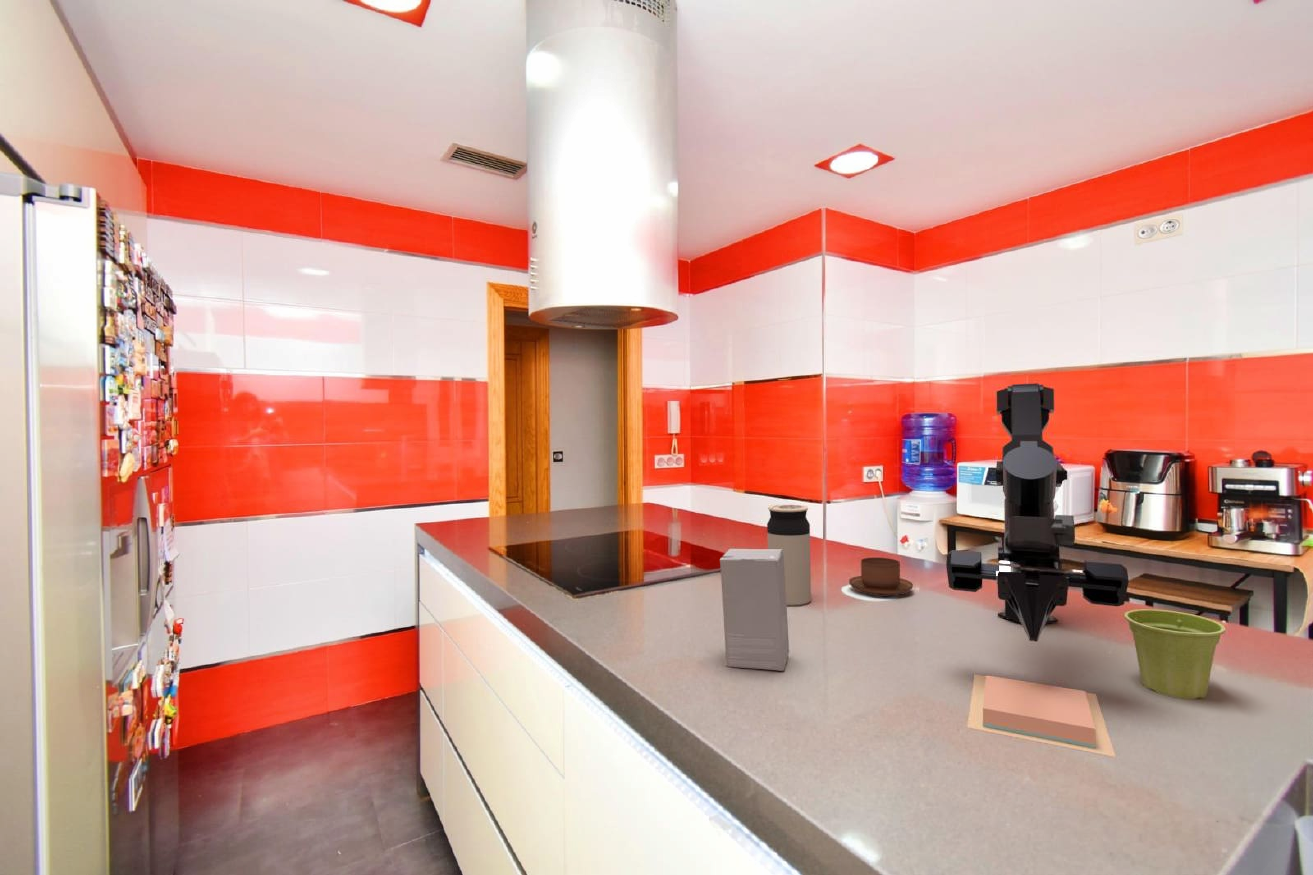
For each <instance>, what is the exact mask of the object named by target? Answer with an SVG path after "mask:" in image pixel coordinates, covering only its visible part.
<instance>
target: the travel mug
mask: <svg viewBox="0 0 1313 875" xmlns="http://www.w3.org/2000/svg"><path fill="white" fill-rule="evenodd" d="M767 509H768V510H769V514H770V515H769V516H770V517H769V519H768V522H767V523H766V529H767V530H766V531H767V534H766V536H767V549H783V557H784V573H785V589H786V606H789V607H796V606H803V605H806V604H808V603H810V602H811V601H812V576H811V573H812V570H811V528H810V527H811V525H810V522H809V520H808V518H807V512H808V510H809V507H808V506H806V505H801V504H776V505H775V504H774V505H770V506H769V505H768V507H767Z"/></svg>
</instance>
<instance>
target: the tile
mask: <svg viewBox="0 0 1313 875" xmlns="http://www.w3.org/2000/svg"><path fill="white" fill-rule="evenodd" d="M985 676H986V681H985V691H984V702H983V726H984V727H989V728H994V729H999V730H1004V731H1009V732H1014V733H1019V734H1024V735H1029V736H1034V737H1039V738H1044V739H1049V740H1054V741H1060V742H1065V743H1070V744H1075V745H1080V746H1085V747H1090V748H1095V749H1096V735H1095V726H1094V722H1093V718H1092V715H1091V711H1090V708H1089V704H1088V700H1087V697H1086V693H1087V692H1086V691H1085V690H1080V689H1073V688H1067V687H1061V686H1056V685H1050V684H1049V685H1048V684H1043V683H1038V682H1031V681H1026V680H1025V681H1023V680H1017V679H1011V678H1007V677H1006V678H1005V677H1001V676H1000V677H999V676H993V675H988V674H987V675H985Z"/></svg>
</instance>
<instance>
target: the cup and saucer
mask: <svg viewBox="0 0 1313 875" xmlns="http://www.w3.org/2000/svg"><path fill="white" fill-rule="evenodd" d="M860 573H861V574H860V575H859V576H854V577H852V578H850V579H849V580H848V582H849V585H850V586H851V587H852V588H853V589H854V590H856V591H858V592H862V593H864V594H868V595H873V596H882V597H883V596H884V597H886V596H900V595H903V594H906V593H908V592H910V591H911V590H913V586H914V583H913V582H911V581H909V580H907V579H904V578H901V562H900V561H899V560H897V559H894V558H889V557H865V558H862V559H861V560H860Z"/></svg>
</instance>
